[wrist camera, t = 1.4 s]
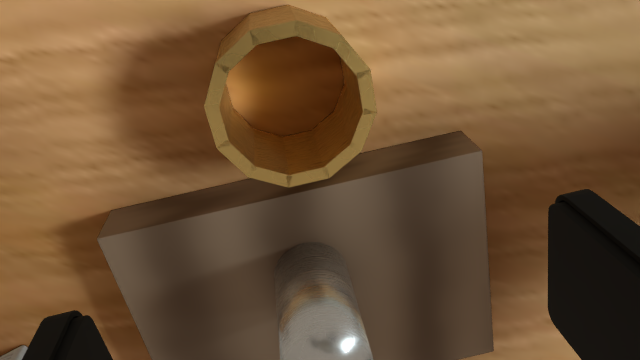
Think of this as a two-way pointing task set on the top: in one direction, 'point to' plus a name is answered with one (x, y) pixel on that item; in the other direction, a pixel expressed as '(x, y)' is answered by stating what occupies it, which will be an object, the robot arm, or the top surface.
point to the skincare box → (15, 354)
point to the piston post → (317, 306)
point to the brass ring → (302, 148)
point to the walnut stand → (324, 227)
